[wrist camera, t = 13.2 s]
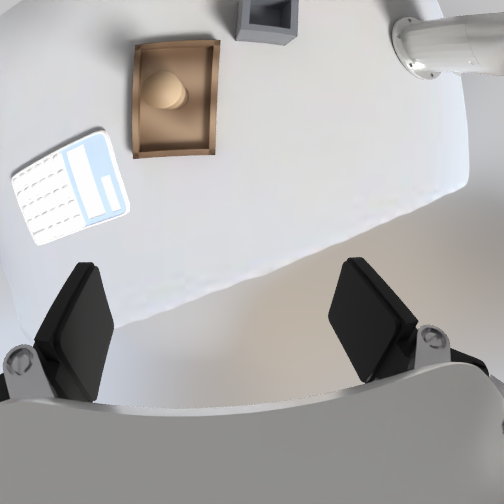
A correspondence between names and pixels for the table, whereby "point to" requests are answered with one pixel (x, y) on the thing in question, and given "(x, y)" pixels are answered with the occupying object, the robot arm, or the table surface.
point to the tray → (189, 116)
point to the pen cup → (267, 21)
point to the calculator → (71, 189)
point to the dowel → (164, 91)
